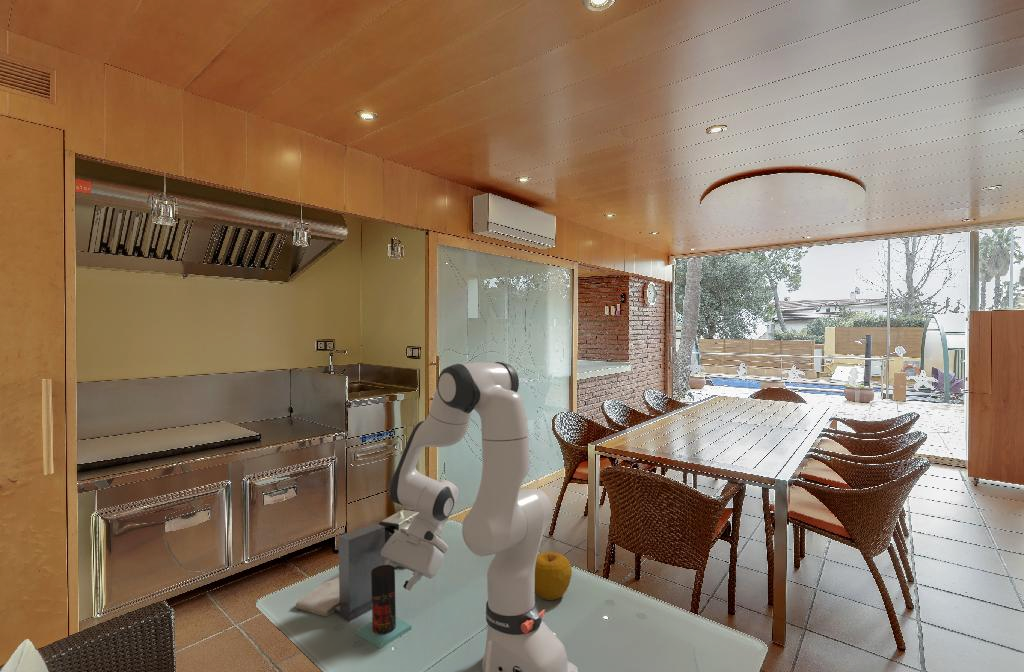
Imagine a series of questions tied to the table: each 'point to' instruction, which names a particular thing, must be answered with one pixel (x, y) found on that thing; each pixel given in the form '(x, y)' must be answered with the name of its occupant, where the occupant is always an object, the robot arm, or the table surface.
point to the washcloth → (321, 598)
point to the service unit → (358, 569)
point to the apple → (552, 575)
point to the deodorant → (383, 599)
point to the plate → (383, 639)
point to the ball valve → (397, 523)
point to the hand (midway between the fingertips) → (394, 583)
